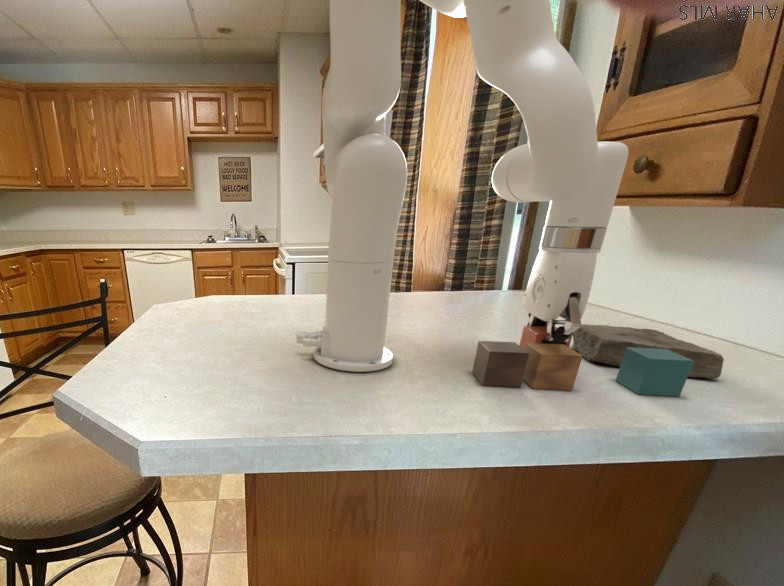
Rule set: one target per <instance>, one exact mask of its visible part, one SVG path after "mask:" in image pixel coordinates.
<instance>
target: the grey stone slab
mask: <svg viewBox="0 0 784 586" xmlns="http://www.w3.org/2000/svg"><path fill="white" fill-rule="evenodd" d="M572 340H573V341H572V347H571V349H572V350H574V351H576V352H577V353H579V354H581V355H582V357H583V358H584V359H586V360H587V361H590V362H595V363H600V364H603V365H608V366H613V367H618V368H620V366H621V363H622V360H623V357H624V354H625V351H626V348H627V347H632V348H655V349H668V350H670V351H672V352H675V353H677V354H679V355H682V356H684V357H686V358H689V359H691V360H693V361H694V363H693V365H692V368H691V370H690V372H689V375H688V377H687V378H705V379H709V380H710V379H711V380H713V379H718V378H720V376H721V375H722V371H723V365H724V357H723V356H722V353H721V354H720V353H719V352H716V351H714V350H712V349H708V348H706V347H702V346H699V345H697V344H694V343H692V342H688V341H685V340H683V339H678V338H675V337H674V336H671V335H669V334H666V333H664V332H661V331H659V330H656V329H650V328H635V327H628V326H613V325H605V324H588V323H587V324H585V323H581V327H580V328H579V329H578V330H576V331H575V332H574V333H573V334H572Z"/></svg>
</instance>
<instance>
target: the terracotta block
mask: <svg viewBox="0 0 784 586" xmlns="http://www.w3.org/2000/svg"><path fill="white" fill-rule="evenodd" d="M557 328H558V326H555V330H556V329H557ZM546 334H547V327H539V326H527V325H524V326H523V328H522V333H521V338H520V341H519V344H518V345H519V346H520V347H522V348H523V349H524V350H525V347H526V343H540V344H542V340H546ZM572 340H573V336H572V335H571V336H570V340H569V341H568V342H567V343H566V346H567V347H569V348H570V345H571V342H572Z"/></svg>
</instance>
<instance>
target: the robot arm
mask: <svg viewBox="0 0 784 586" xmlns="http://www.w3.org/2000/svg"><path fill="white" fill-rule="evenodd" d="M418 1H420V2H421V3H423V4H425V6H428V7H429V8H432V9H434V10H435V11H437V12H439V13H441V14H443V15H446V16H449V17H452V18H460V19H461V18H465V17H466V23H467V27H468V32H469V36H470V43H471V49H472V52H473V59H474V64H475V69H476V73H477V75H478V76H479V78H480V79H481V80H482V81H484V82H485V83H487V84H488V85H490V86H492V87H494V88H496V89H498V90H500V91H501V92H503V93H504V94H505V95H507V96H508V98H510V100H511V101H512V102H513V103H514V104H515V106H516V108H517V110H518V112H519V113H520V115H521V118H522V120H523V123H524V128H525V131H526V135H527V141H528V143H524V144H520V145H519V146H516V147H514V148H512V149H510V150H508V151H507V152H506V153H504V154H503V155H502V156H501V157H500V158H499V160H498V161H497V162H496V164H495V165H494V168H493V170H492V173H491V185H492V188H493V190H494V192H495V194H497V196H498V197H500V198H501V199H503V200H505V201H507V202H512V203H535V202H549V206H548V210H547V214H546V219H545V223H544V226H543V230H542V233H541V234H542V235H541V239H540V243H539V247H538V253H537V255H536V258H535V261H534V262H533V263H534V264H533V266H532V269H531V273H530V274H529V279H528V282H527V286H526V289H525V293H524V296H523V299H522V305H521V306H522V309H523V310H524V311H525V312H526V313H528V315H527V316H528V321H527V324H526V326H539V327H547V334H546V340H542V344H563V345H566V343H567V342H568V341H569V340H570V336H571V335H572V334H573V333H574V332H575V331H576V330H578V329H579V328H580V327H581V324H582V318H583V316H584V313H585V311H586V309H587V305H588V301H589V298H590V293H591V289H592V287H593V286H592V285H593V281H594V277H595V270H596V265H597V257H598V254H600V253H601V250H602V248H603V247H602V246H603V243H604V240H605V238H606V237H605V236H606V233H607V230H608V226H609V222H610V219H611V215H612V212H613V210H614V206H615V202H616V200H617V199H616V198H617V196H618V192H619V189H620V187H621V186H620V185H621V182H622V178H623V175H624V171H625V168H626V165H627V162H628V158H629V147H628V145H626V144H625V143H624V142H620V141H609V140H606V141H598V132H597V131H598V130H597V123H596V113H595V104H594V99H593V95H592V93H591V89H590V87H589V83H588V81H587V80H586V78H585V76H584V74H583V73H582V71H581V70H580V68H579V66H578V65H577V64H576V62H575V60H574V59H573V57H572V56H571V54H570V53H569V51H567V49H566V48H565V47H564V46H563V45H562V44H561V43H560V41H559V39H558V38H557V36H556V32H555V27H554V21H553V15H552V7H551V0H418ZM401 7H402V0H329V41H330V42H329V43H330V46H329V47H330V48H329V49H330V50H329V51H330V53H329V54H330V55H329V57H330V59H329V61H330V63H329V68H328V73H327V76H326V79H325V82H324V84H323V85H324V86H323V89H322V96H321V122H322V123H321V124H322V142H323V156H324V157H323V159H324V173H325V184H326V189H327V192H328V195H329V196H330V198H331V200H332V203H331V204H332V205H331V216H330V226H329V237H328V253H327V254H328V255H327V259H328V260H327V276H326V277H327V278H326V295H325V297H326V298H325V316H324V325H323V326H322V330H316V332H308V331H296V344H302V347H308V348H309V347H315V348H314V349H313V358H314V360H315V362H317V363H318V364H320V365H322V366H324V367H327V368H330V369H333V370H338V371H344V372H356V373H363V372H364V373H367V372H375V371H376V372H377V371H381V370H384V369H386V368H389V367H390V366H391V365H393V363H394V353H393V352H392V351H391V350H390V349H388V348H386V347H385V342H386V333H387V323H388V315H389V307H390V297H391V288H392V280H393V269H394V262H395V250H396V242H397V235H398V228H399V222H400V218H401V213H402V209H403V204H404V200H405V196H406V190H407V184H408V165H407V160H406V157H405V154H404V152H403V150H402V148H401V147H400V145H399V144H398V143H397V142H396V141H395V140H393V139H392V138H391V137H390V136H388V135H386V115H387V113H388V112H389V111H390V110H391V109H392V108H393V106H394V105H395V103H396V101H397V99H398V97H399V94H400V90H401V86H402V57H401V56H402V55H401V53H402V51H401V49H402V47H401V46H402V40H401V39H402V36H401V35H402V32H401V30H402V27H401V26H402V25H401V23H402V22H401V19H402V17H401V16H402V11H401V9H402V8H401ZM559 317H560V318H563V319H558V318H559ZM556 325H560V326H557V329H556V330H555V327H556Z"/></svg>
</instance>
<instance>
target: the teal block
mask: <svg viewBox="0 0 784 586" xmlns="http://www.w3.org/2000/svg"><path fill="white" fill-rule="evenodd" d="M693 363H694V361H693V360H691V359H689V358H686V357H684V356H682V355H679V354H677V353H675V352H672V351H670V350H668V349H655V348H632V347H627V348H626V351H625V354H624V357H623V360H622V363H621V366H620V367H619V369H618V372H617V375H616V377H615V381H616V382H617V383H619V384H620V385H622V386H624V387H625V388H627V389H628V390H630V391H631V392H633V393H635V394H637V395H645V396H660V397H661V396H662V397H663V396H664V397H681V394H682V392H683V389H684V387H685V384H686V382H687V380H688V378H689V377H688V375H689V372H690V370H691V368H692V365H693Z"/></svg>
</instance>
